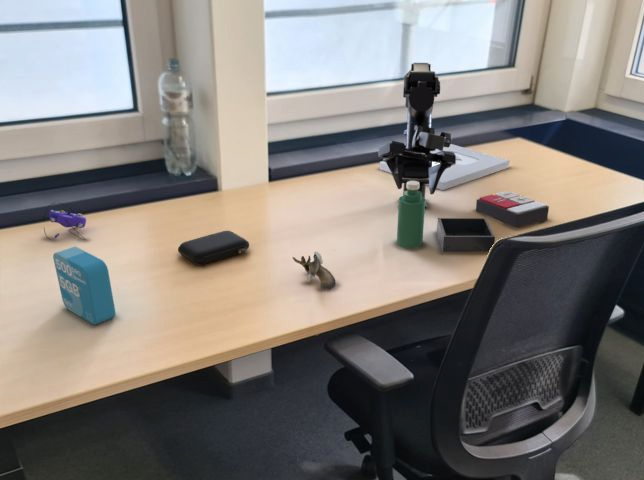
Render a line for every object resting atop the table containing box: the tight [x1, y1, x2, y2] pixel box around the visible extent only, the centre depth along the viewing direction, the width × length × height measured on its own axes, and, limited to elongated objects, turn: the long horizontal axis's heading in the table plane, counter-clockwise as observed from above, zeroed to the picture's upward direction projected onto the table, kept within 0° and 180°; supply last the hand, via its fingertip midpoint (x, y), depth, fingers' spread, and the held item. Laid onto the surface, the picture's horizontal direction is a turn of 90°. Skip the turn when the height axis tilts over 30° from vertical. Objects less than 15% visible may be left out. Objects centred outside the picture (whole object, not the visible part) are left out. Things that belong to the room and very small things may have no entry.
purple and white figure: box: [43, 202, 87, 241], centre depth 179 cm, size 10×8×10 cm
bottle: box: [396, 181, 426, 249], centre depth 172 cm, size 6×6×15 cm
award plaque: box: [379, 143, 510, 191], centre depth 222 cm, size 25×30×2 cm
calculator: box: [475, 190, 550, 229], centre depth 190 cm, size 11×4×15 cm
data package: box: [52, 246, 117, 326], centre depth 143 cm, size 12×4×12 cm, turn 47°
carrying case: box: [177, 230, 250, 266], centre depth 170 cm, size 11×3×15 cm
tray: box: [436, 217, 496, 253], centre depth 176 cm, size 12×12×4 cm
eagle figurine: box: [291, 251, 337, 291], centre depth 157 cm, size 8×7×9 cm
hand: (416, 191), depth 179 cm, fingers open, 9 cm apart
